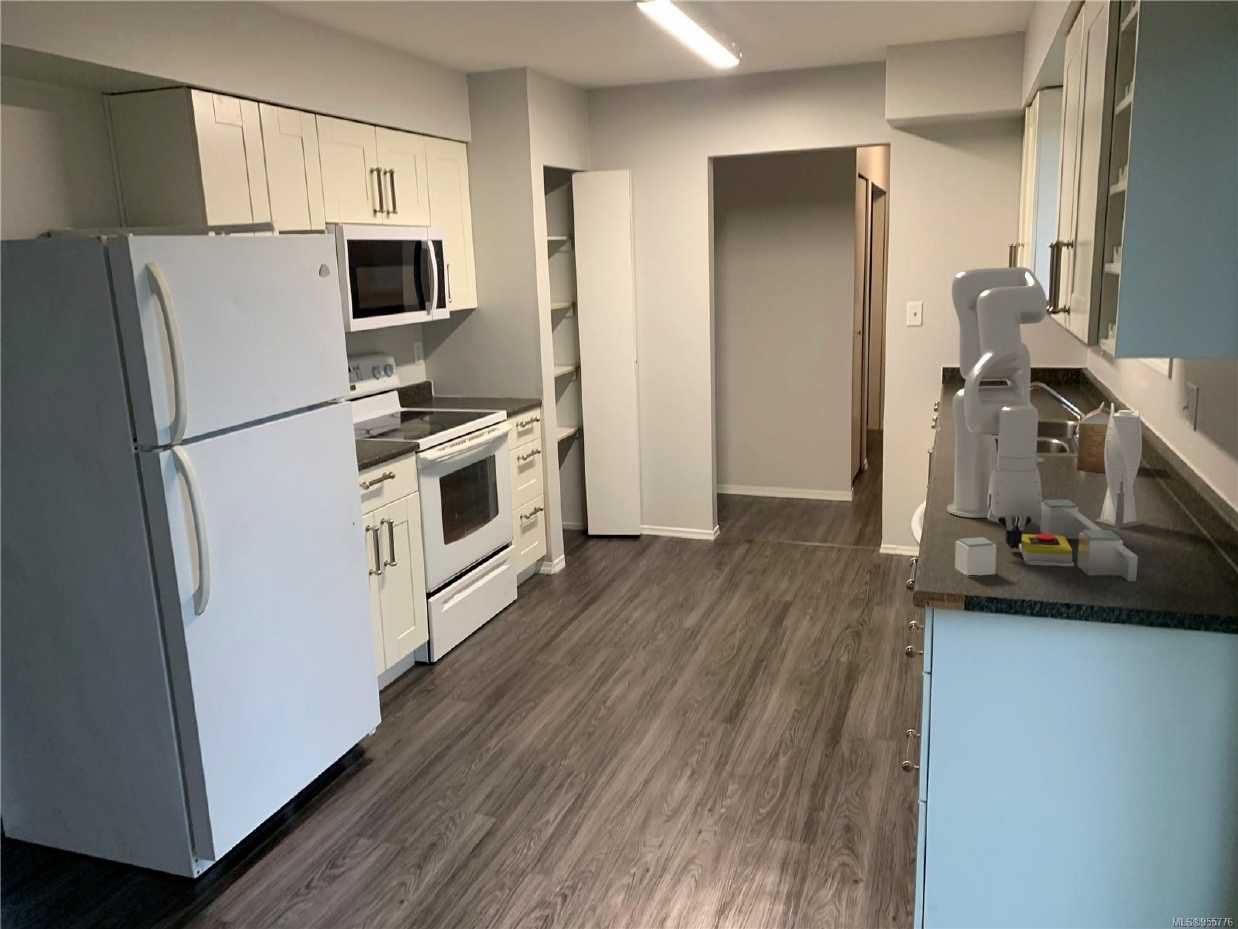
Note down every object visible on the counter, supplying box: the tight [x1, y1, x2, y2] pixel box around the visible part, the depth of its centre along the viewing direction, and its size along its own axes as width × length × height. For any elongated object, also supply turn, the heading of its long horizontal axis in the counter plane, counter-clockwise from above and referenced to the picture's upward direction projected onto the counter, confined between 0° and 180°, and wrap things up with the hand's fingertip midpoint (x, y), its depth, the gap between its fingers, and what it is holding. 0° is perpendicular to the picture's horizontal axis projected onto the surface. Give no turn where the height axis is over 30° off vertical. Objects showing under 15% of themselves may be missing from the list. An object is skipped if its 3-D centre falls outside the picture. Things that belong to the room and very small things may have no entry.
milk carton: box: [1076, 401, 1116, 473], centre depth 265 cm, size 11×11×19 cm
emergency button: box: [1019, 533, 1075, 567], centre depth 192 cm, size 9×4×15 cm
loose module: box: [954, 536, 997, 577], centre depth 183 cm, size 5×6×6 cm
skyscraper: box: [1093, 402, 1143, 530], centre depth 210 cm, size 8×8×28 cm
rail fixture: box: [1039, 499, 1139, 582], centre depth 192 cm, size 38×8×8 cm, turn 171°
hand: (1013, 546), depth 194 cm, fingers closed
